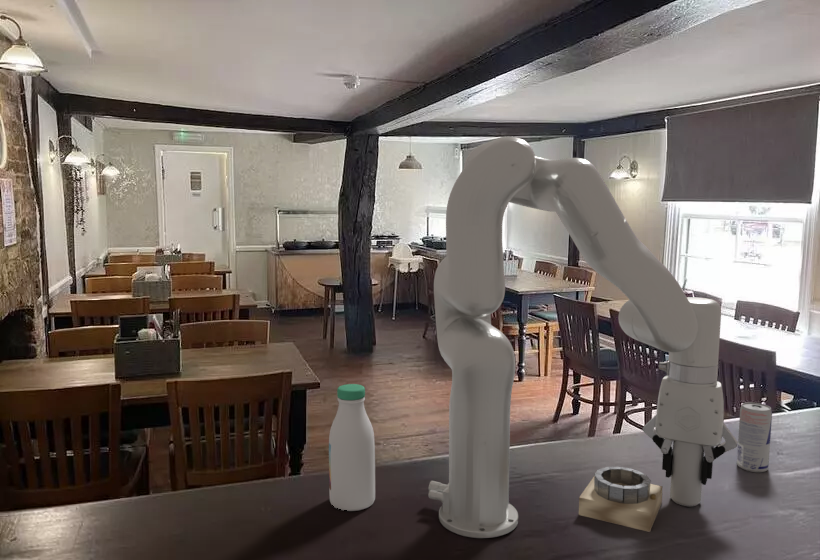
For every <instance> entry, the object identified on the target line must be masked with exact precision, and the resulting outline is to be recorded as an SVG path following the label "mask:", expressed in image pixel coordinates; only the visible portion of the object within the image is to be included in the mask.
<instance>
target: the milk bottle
mask: <svg viewBox="0 0 820 560" xmlns="http://www.w3.org/2000/svg"><path fill="white" fill-rule="evenodd" d="M336 391H337V392H336V396H337V401H338V407H337V411H336V415H335V417H334V418H333V420H332V424H331V427H330V431H329V434H328V435H329V436H328V479H329V480H328V483H329V484H328V485H329V487H328V488H329V490H328V491H329V493H328V494H329V502H330V504H331V506H332V505H333V506H334V507H333V506H332V507H333V508H335V509H337V508H338V509H337V510H339V509H341V510H340V511H344V510H347V511H346V512H356V511H362V510H364V509H368V508H369V507H371V506H372V505H373V504H374V502H375V500H376V448H375V433H374V427H373V425H372V422H371V420H370V418H369V416H368V414H367V411H366V409H365V403H364V402H365V400H366V398H365V397H366V388H365V386H363V385H362V384H356V383H348V384H343V385H342V384H341V385H339V386H338V387H337V389H336Z"/></svg>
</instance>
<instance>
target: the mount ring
mask: <svg viewBox="0 0 820 560" xmlns="http://www.w3.org/2000/svg"><path fill="white" fill-rule="evenodd" d="M594 476H595V477H594ZM594 476H593V477H594V490H595V491H596V493H597V494H598V495H599V496H601V497H603V498H605V499H607V500H609V501H613V502H618V503H622V504H623V503H624V504H637V503H641V502H644V501H647V500H648V498H649V496H650V484H651V482H652V481H651V479H650V477H649V476H648V475H647V474H646V473H644V472H642V471H640V470H637V469H633V468H631V467H630V468H629V467H624V466H605V467H601V468H598V469H597V470H596V472H595V473H594ZM612 483H622V484H627V485H631V486H622V485H617V484H612Z"/></svg>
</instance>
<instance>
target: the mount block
mask: <svg viewBox="0 0 820 560" xmlns="http://www.w3.org/2000/svg"><path fill="white" fill-rule="evenodd" d="M594 477H595V475H593V477H592V479H590V482H589V483H588V484H587V486H586V487H585V488H584V490H583V491H582V493H581V494H580V495H579V498H578V516H582V517H585V518H590V519H594V520H599V521H603V522H607V523H609V524H611V523H612V524H615V525H620V526H623V527H627V528H631V529H635V530H640V531H643V532H648V533H650V532H651V531H652V527H653V525H654V523H655V521H656V518H657V516H658V513H659V512H660V511H659V510H660V508H661V507H662V504H663V485H662V486H661V485H658V484H652V483H650V496H649V498H648V500H647V501H644V502H641V503H637V504H624V503H623V504H622V503H618V502H613V501H609V500H607V499H605V498H603V497H601V496H599V495H598V494H597V493H596V491H595V490H594ZM612 484H617V485H622V486H631V485H627V484H622V483H612Z"/></svg>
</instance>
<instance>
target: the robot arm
mask: <svg viewBox="0 0 820 560" xmlns="http://www.w3.org/2000/svg"><path fill="white" fill-rule="evenodd" d="M509 203H511V204H515V205H519V206H522V207H526V208H531V209H535V210H540V211H545V212H549V213H550V212H551V213H552V212H554V213H556V214H557V216H558V218H559V220H560V221H561V222H562V224H563V226H564V227H565V230H566V231H567V232H568V234H569V237H570V238H571V240H572V241H573V243H574V245H575V246H576V249H577V250H578V251H579V253H580V255H581V257H582V258H583V260H584V261H585V263H587V265H588V266H589V267H590V268H592V269H593V270H594V271H595V272H596V273H597V274H598V275H600V276H601V277H602V278H604V279H605V280H607V281H609V282H610V283H611V284H613V285H614V286H615V287H616V288H618V290H619V291H621V292H622V293H623V294H624V295H625V296H626V297H627V299H628V300H627V301H625V303H624V304H623V305H622V306H621V307H620V309H619V312H618V324H619V327H620V329H621V330H622V332H624V333H625V335H627V337H630V338H632V339H634V341H635V340H636V341H638V342H640V343H643V344H645V345H648V346H651V347H653V348H656V349H658V350H661V351H663V352H666V353H668V360H666V361H664V362H663V361H659V363H658V370H659V371H660V370H661V371H663V372H665V374H666V375H665V376H664V377H663V378H662V379H661V383H660V386H659V390H658V391H659V392H658V398H657V404H656V405H657V406H656V413H655V415H654V416H653V417H652V418H650V420H649V421H648V422H646V424H645V425H644V426H643V427H642V432H643V433H644V434H646V435H647V437H648V438H650V439H651V440H652V442H653V443H654V444H655V445H656V447H658V448H659V450H660V453H662V463H661V464H662V466H661V469H662V470H663V471H665V478H671V473H672V455H673V440H674V441H679V442H685V443H691V444H697V445H703V449H704V458H703V461H702V474H701V483H702V486H707V485H706V484H707V481H708V479H709V480H712V477H713V463H714V461H715V460H716V459H718V458H719V457H720V456H723V455H724V454H725V453H727V452H729V451H731V450H733V449H735V448H738V439H736V437H735V436H734V435H733V433H732V432H731V430H730V429H729V428H728V426H727V425H726V424H725V421H724V420H725V417H724V416H725V412H724V411H725V410H724V393H723V387H722V383H721V382H720V381H718V371H719V370H718V369H719V357H720V356H719V354H720V353H719V352H720V339H721V338H720V337H721V325H722V324H721V322H722V321H721V319H722V307H721V304H720V303H719V302H718V301H717V300H714V299H712V298H705V297H698V296H696V297H694V296H692V297H691V296H688V297H687V296H686V294H685V292H684V290H683V288H682V287H681V285H680V284H679V282H678V281H677V279H676V277H674V275H673V274H672V273H671V271H670V270H669V269H668V268H667V267H666V266H665V265H664V264H663V262H661V261H660V259H659V258H657V256H656V255H655V254H654V253H653V252H652V251H651V250H650V249H649V248H648V247H647V245H646V244H644V243H643V242H642V241H641V240H640V238H638V237H637V235H636V233H634V230H633V229H632V228H631V226H630V225H629V222H628V220H627V218H626V217H625V215H624V214H623V212H622V210H621V208H620V206H619V205H618V203H617V200H616V199H615V198H614V196H613V194H612V192H611V191H610V189H609V187H608V186H607V184H606V182H605V181H604V179H603V177H602V175H601V173H600V171H599V170H598V169H597V168H596V166H595V165H594V164H593V163H592V162H590V161H589V160H587V159H585V158H580V157H568V158H562V159H561V158H559V159H551V158H550V159H549V158H543V157H539V156H536V154H535V151H534V149H533V148H532V146H531V145H530V144H529V143H528V142H527V141H526V140H525V139H522V138H519V137H516V136H506V137H505V136H503V137H500V138H495V139H493V140H491V141H488V142H484V143H482V144H480V145H478V146H476V147H475V148H474V149H472V150H471V151H470V152H469V153H468V156H467V157H466V159H465V162H464V168H463V169H462V170H461V172H460V173H459V175H458V177H457V178H456V180H455V182H454V184H453V187H452V188H451V191H450V193H449V197H448V201H447V205H446V213H445V246H446V247H445V249H446V252H445V253H446V256H445V257H444V258H443V259H442V260H441V261H440V263H439V264H438V265H437V268H436V270H435V273H434V278H433V298H434V312H435V313H434V314H435V315H434V316H435V328H436V338H437V346H438V350H439V353H440V355H441V357H442V359H443V361H444V362H445V363H446V364H447V366H448V367H449V368H450V369H451V373H452V374H451V389H450V394H449V407H448V408H449V409H448V429H449V430H448V483H447V484H445V483H442V482H440V481H435V480H430V481H429V485H428V498H429V499H430V500H435V501H436V500H437V501H440V502H441V503H442V505H441V506H440V507H439V510H438V519H439V522H440V524H441V525H442V526H443V527H444V528H445V529H447V530H448V531H450V532H452V533H454V534H457V535H459V536H463V537H468V538H474V539H491V538H498V537H502V536H504V535H506V534H509V533H511V532H512V531H514V529H515V528H517V526H518V524H519V512H518V510H517V509H516V508H515V506H513V505H512V504H511V503H510V502H509V501H510V500H509V498H510V496H509V495H510V492H509V491H510V453H511V452H510V450H511V449H510V448H511V447H510V444H511V442H510V441H511V435H510V434H511V405H512V404H511V403H512V400H511V399H512V392H513V385H514V379H515V373H516V354H515V350H514V348H513V345H512V343H511V341H510V340H509V338H508V337H507V336H506V334H504V333H503V332H502V331H501V330H500V329H498V328H496V327H495V326H493V325H492V319H491V318H492V317H491V314H493V313H494V312H496V311H497V310H498V309H499V308H500V307H501V305H502V304H503V301H504V298H505V293H506V279H505V266H504V252H503V251H504V248H503V223H504V222H503V221H504V216H505V211H506V209H507V207H508V205H509ZM722 440H725V441H724V442H722ZM721 442H722V443H721Z"/></svg>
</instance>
